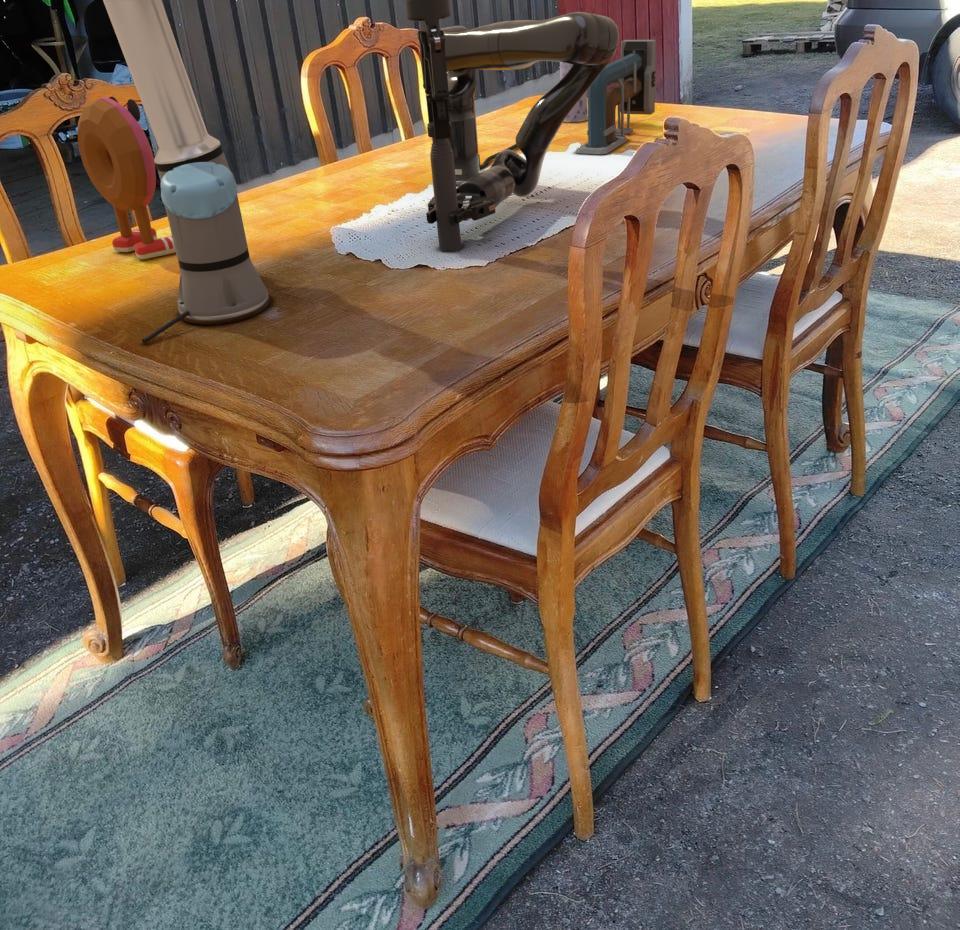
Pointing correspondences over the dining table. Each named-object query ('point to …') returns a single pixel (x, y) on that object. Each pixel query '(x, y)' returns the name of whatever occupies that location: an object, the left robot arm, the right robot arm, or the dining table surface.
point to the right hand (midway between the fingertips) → (440, 219)
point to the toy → (122, 171)
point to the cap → (431, 129)
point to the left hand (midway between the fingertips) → (439, 135)
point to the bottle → (445, 194)
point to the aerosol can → (580, 108)
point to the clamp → (620, 96)
